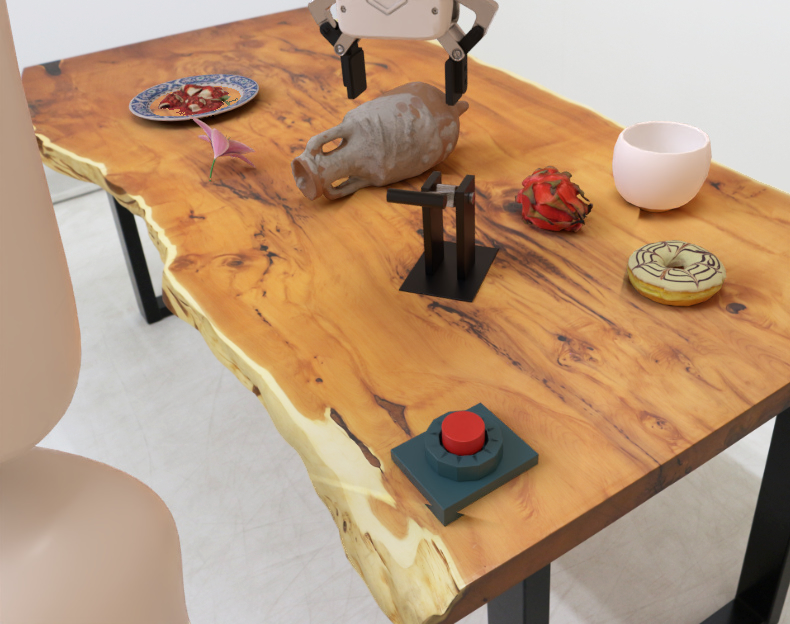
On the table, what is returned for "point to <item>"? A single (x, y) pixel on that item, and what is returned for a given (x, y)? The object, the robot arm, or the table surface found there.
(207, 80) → the ceramic plate
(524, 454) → the button box
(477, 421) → the button
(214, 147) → the lily
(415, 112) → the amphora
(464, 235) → the black lever stand
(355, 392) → the table surface
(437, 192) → the lever
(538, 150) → the table surface
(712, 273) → the decorated donut
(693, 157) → the cup
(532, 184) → the dragon fruit
